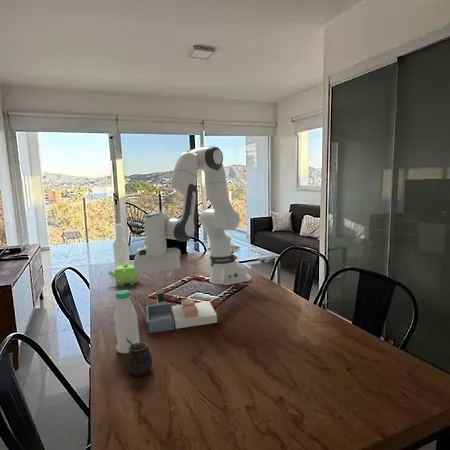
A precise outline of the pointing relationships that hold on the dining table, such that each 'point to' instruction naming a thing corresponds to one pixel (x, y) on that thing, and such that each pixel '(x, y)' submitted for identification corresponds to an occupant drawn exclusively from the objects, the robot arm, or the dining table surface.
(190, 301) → the tile back
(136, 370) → the mate gourd
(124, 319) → the milk bottle
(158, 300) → the two-tone stepped block
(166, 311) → the tray
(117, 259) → the alcohol
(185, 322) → the board
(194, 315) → the tile front
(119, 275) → the kettle
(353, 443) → the dining table surface
